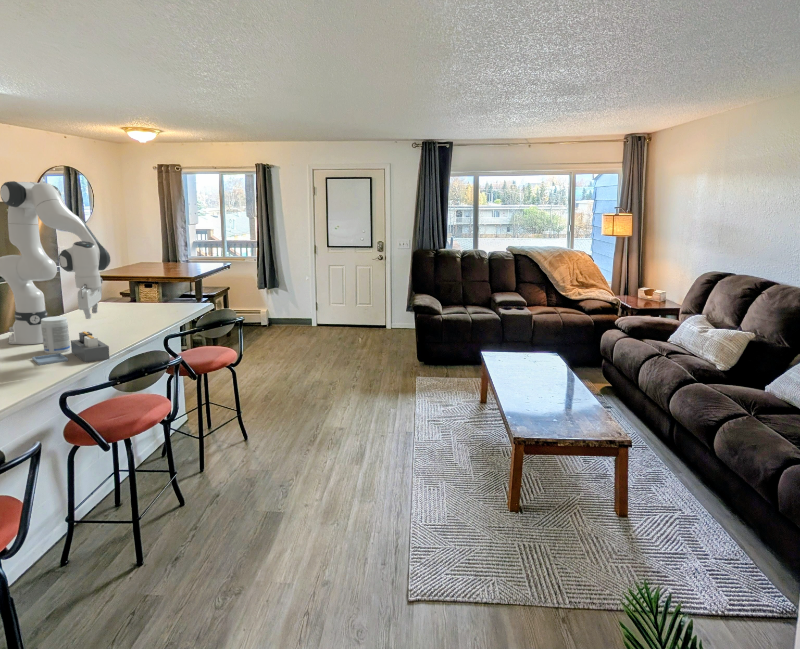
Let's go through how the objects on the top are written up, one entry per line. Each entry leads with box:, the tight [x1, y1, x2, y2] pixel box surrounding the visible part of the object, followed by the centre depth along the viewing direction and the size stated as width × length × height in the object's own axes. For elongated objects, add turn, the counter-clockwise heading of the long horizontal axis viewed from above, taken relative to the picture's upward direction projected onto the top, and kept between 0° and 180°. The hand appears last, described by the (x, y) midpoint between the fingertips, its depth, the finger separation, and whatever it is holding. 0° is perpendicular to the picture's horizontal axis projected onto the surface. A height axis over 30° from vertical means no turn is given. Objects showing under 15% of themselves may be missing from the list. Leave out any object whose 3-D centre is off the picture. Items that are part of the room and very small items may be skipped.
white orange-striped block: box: [84, 334, 99, 348], centre depth 220 cm, size 5×4×8 cm
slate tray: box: [31, 353, 69, 366], centre depth 215 cm, size 10×10×2 cm
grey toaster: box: [70, 331, 110, 363], centre depth 223 cm, size 18×9×10 cm, turn 46°
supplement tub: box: [41, 315, 71, 355], centre depth 228 cm, size 10×10×15 cm
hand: (91, 315), depth 218 cm, fingers open, 8 cm apart
